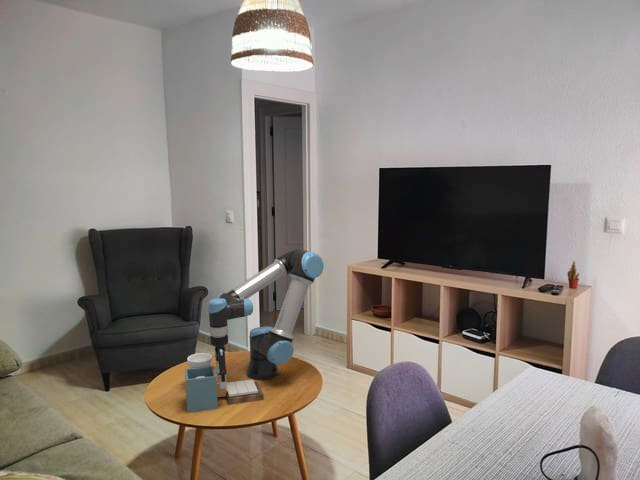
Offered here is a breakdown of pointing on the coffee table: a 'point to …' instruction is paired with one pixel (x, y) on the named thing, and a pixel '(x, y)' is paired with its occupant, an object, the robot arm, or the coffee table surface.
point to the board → (246, 396)
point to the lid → (237, 388)
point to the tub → (201, 389)
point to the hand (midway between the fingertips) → (221, 381)
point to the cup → (199, 360)
